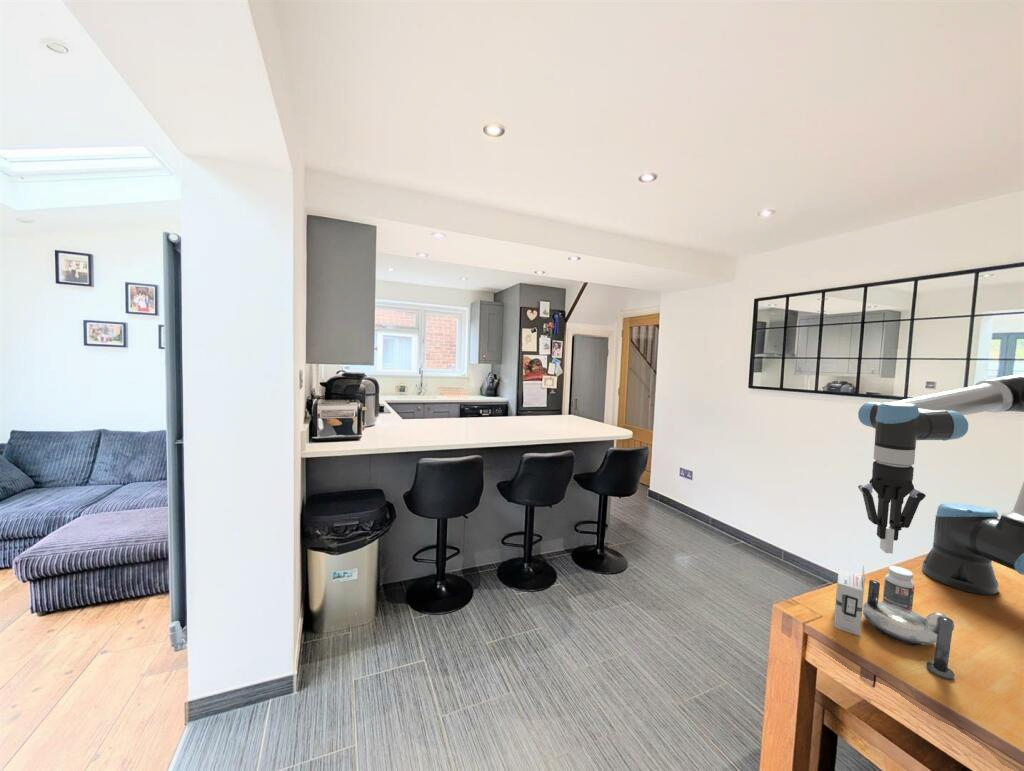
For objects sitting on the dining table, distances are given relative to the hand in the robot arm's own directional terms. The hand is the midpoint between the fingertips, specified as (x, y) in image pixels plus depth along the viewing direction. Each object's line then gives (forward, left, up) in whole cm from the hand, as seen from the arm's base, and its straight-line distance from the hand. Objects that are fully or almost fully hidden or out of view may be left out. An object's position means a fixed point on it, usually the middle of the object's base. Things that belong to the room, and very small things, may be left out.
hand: (886, 550), depth 102 cm
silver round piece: (+4, +8, -14) cm, 17 cm away
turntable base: (+4, +8, -16) cm, 19 cm away
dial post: (+7, +20, -16) cm, 27 cm away
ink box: (+14, +5, -17) cm, 22 cm away
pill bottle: (-6, -2, -17) cm, 18 cm away
